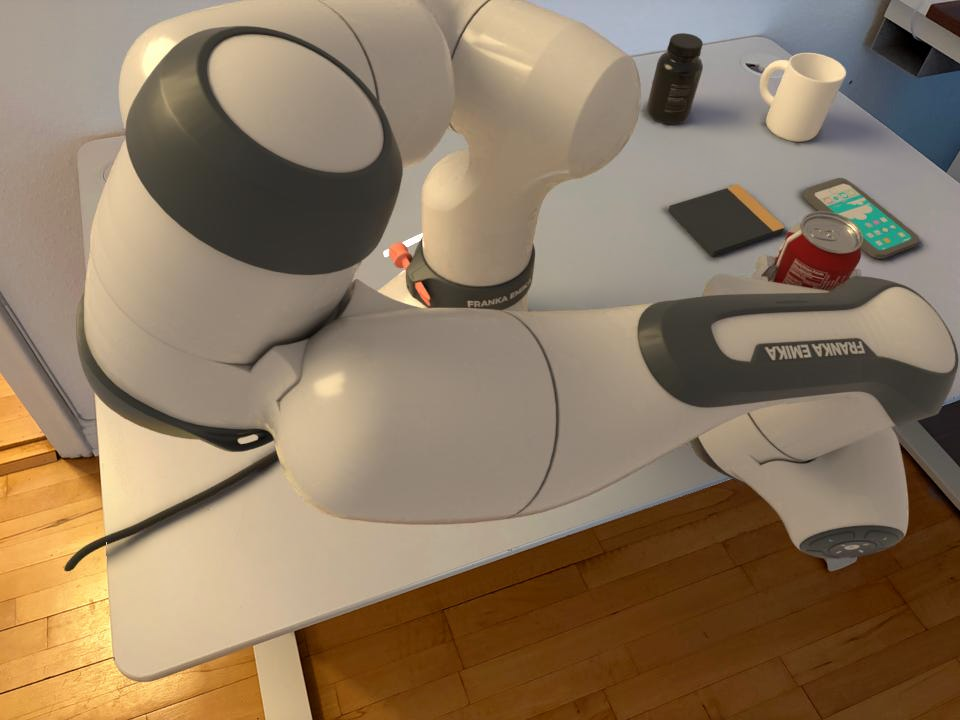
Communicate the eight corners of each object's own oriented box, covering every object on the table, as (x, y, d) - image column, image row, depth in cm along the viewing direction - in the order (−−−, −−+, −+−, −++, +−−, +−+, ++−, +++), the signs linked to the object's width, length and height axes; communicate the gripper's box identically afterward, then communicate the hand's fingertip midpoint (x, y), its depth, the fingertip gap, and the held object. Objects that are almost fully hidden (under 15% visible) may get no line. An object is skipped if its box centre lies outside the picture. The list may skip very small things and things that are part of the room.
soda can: (818, 348, 72) (875, 261, 63) (750, 336, 73) (797, 248, 64) (812, 301, 77) (865, 213, 67) (748, 290, 77) (792, 201, 68)
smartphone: (845, 174, 105) (924, 238, 97) (842, 180, 106) (921, 244, 98) (800, 189, 102) (878, 256, 94) (798, 195, 103) (875, 261, 95)
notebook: (711, 257, 94) (714, 251, 93) (667, 211, 100) (669, 204, 99) (781, 233, 98) (785, 227, 97) (735, 190, 103) (738, 184, 103)
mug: (735, 112, 116) (757, 51, 108) (766, 97, 119) (790, 36, 111) (796, 149, 110) (824, 88, 102) (827, 132, 114) (857, 71, 106)
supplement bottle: (694, 111, 116) (717, 38, 106) (678, 131, 112) (700, 57, 103) (655, 96, 118) (674, 24, 108) (638, 116, 114) (656, 42, 105)
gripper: (970, 374, 58) (933, 259, 67) (717, 333, 60) (712, 226, 68) (929, 418, 63) (899, 305, 72) (695, 379, 65) (693, 273, 73)
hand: (806, 266), depth 70 cm, fingers closed on soda can, 6 cm apart
